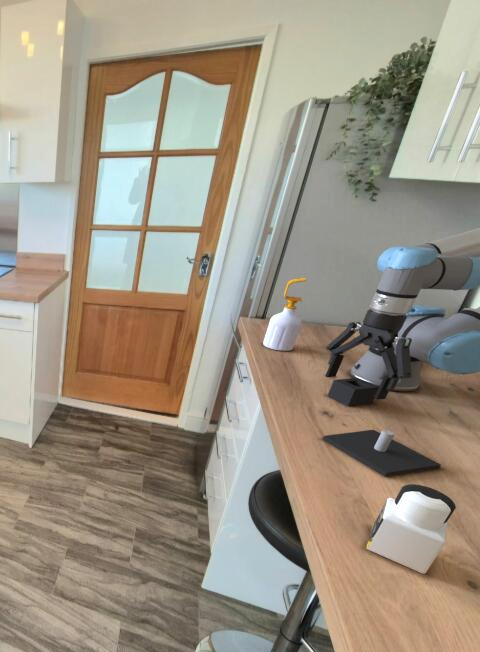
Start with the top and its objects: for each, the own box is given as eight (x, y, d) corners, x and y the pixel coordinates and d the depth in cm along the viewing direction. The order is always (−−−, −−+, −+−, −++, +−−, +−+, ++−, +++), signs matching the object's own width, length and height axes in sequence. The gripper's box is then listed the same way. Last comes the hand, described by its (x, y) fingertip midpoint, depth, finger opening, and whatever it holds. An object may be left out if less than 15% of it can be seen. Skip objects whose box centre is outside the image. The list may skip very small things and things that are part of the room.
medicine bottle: (371, 527, 76) (401, 473, 70) (427, 550, 71) (464, 494, 66) (365, 549, 71) (396, 493, 66) (424, 575, 67) (463, 517, 61)
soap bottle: (293, 353, 148) (318, 282, 137) (262, 348, 152) (284, 279, 142) (292, 345, 155) (315, 277, 144) (262, 340, 159) (283, 274, 148)
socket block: (350, 393, 121) (357, 377, 119) (372, 403, 116) (380, 387, 114) (327, 395, 120) (333, 379, 118) (347, 406, 115) (355, 389, 112)
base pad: (371, 433, 103) (381, 413, 100) (439, 468, 90) (451, 446, 88) (322, 439, 101) (331, 419, 98) (384, 476, 88) (396, 454, 86)
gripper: (329, 299, 117) (301, 369, 127) (432, 328, 95) (390, 410, 105) (351, 297, 119) (323, 367, 128) (459, 326, 97) (415, 408, 106)
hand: (353, 387), depth 116 cm, fingers open, 13 cm apart
